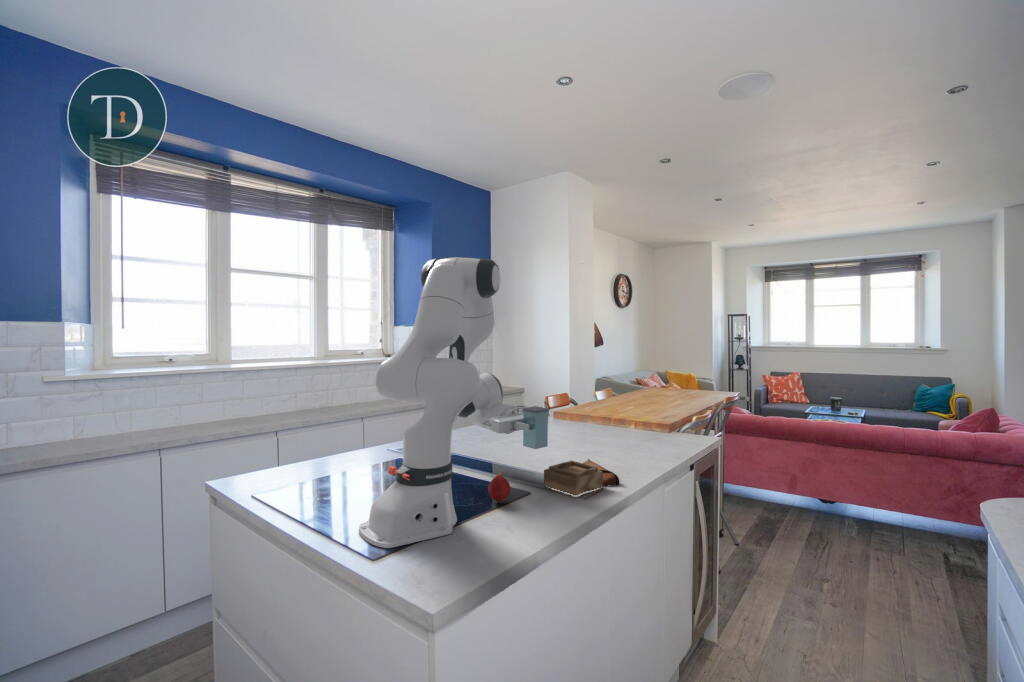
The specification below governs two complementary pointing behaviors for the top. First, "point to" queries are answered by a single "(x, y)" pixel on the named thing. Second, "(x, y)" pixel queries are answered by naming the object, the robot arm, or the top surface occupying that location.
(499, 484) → the onion
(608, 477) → the sunglasses case
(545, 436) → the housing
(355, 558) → the top surface
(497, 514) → the top surface
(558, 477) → the walnut stand
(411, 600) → the top surface
